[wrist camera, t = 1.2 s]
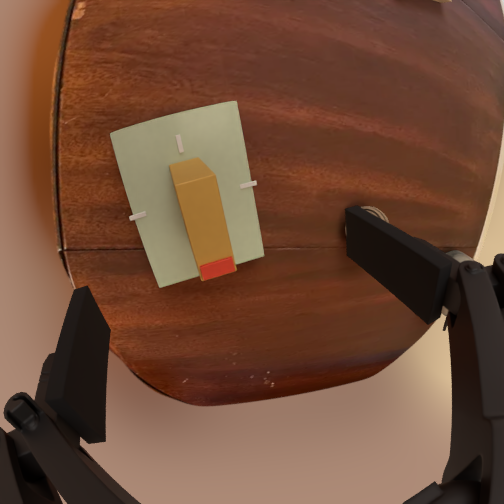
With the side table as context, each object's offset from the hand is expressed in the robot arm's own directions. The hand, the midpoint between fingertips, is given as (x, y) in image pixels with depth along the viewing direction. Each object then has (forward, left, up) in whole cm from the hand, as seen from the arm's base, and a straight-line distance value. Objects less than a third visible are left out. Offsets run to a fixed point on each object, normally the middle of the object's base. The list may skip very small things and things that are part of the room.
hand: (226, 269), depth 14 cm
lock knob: (0, 0, -12) cm, 12 cm away
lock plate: (0, 0, -15) cm, 15 cm away
